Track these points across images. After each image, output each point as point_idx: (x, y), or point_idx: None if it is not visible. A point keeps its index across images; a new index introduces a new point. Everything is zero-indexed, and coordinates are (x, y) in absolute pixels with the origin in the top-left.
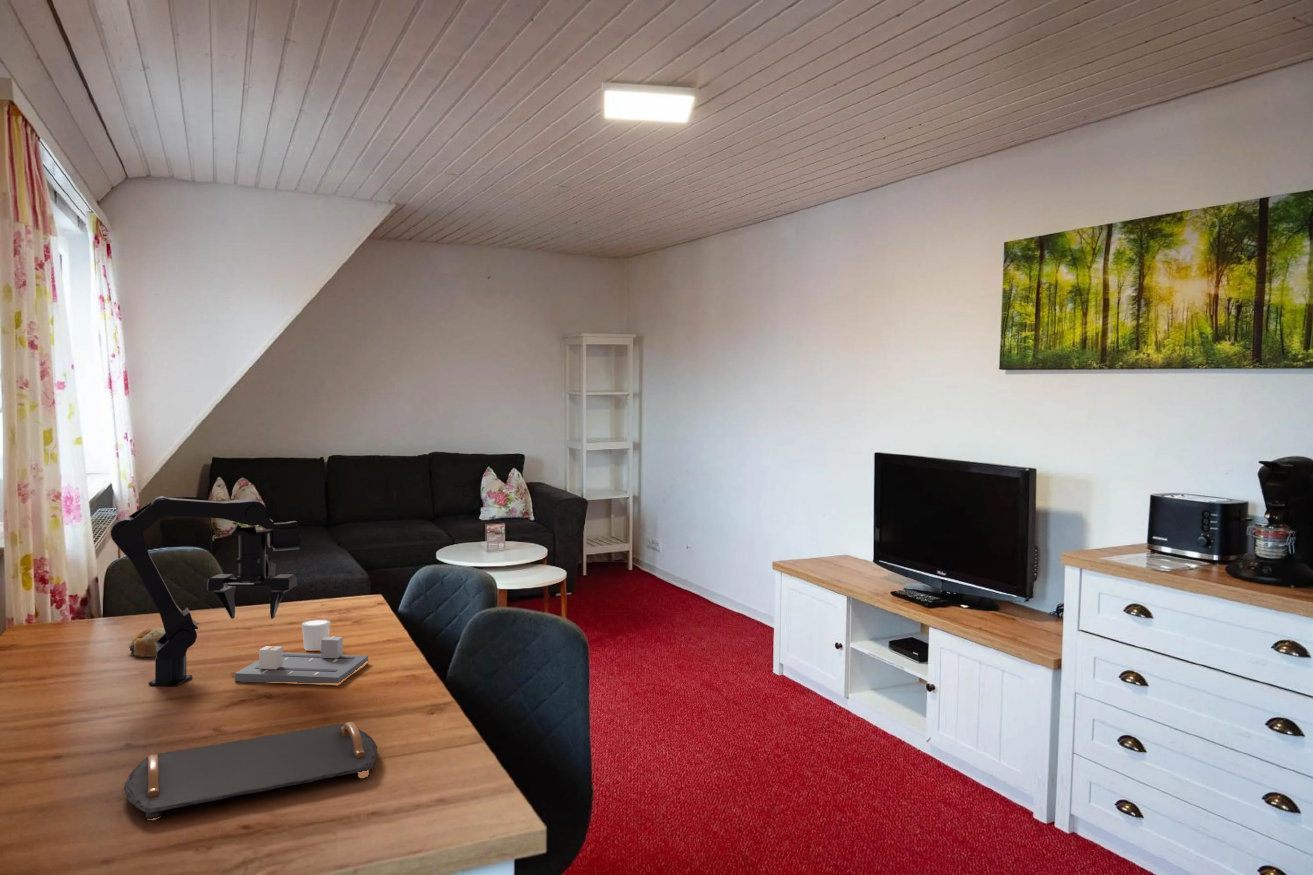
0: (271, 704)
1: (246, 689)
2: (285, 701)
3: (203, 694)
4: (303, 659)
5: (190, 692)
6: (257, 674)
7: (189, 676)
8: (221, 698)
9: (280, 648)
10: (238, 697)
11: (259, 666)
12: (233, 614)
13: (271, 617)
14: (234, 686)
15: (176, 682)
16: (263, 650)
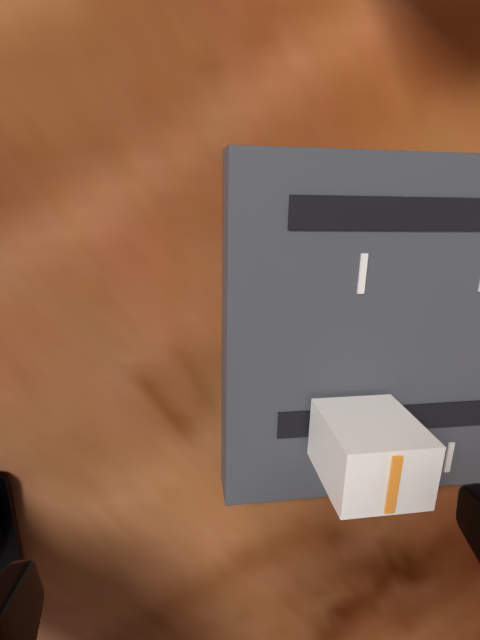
0: (436, 614)
1: (306, 533)
2: (468, 588)
3: (186, 600)
4: (447, 270)
5: (128, 597)
6: (324, 496)
7: (3, 494)
8: (268, 613)
9: (440, 468)
10: (316, 595)
11: (311, 458)
12: (26, 627)
13: (470, 537)
14: (247, 518)
15: (9, 563)
16: (362, 514)
